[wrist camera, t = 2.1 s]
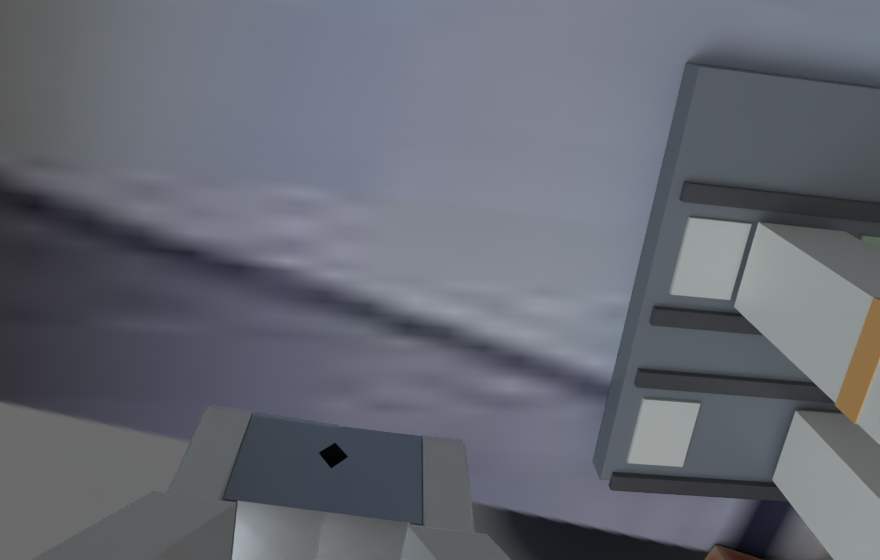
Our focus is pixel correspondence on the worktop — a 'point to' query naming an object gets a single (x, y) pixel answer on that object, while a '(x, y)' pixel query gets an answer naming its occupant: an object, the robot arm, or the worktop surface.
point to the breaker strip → (723, 327)
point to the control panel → (727, 554)
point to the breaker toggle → (820, 311)
